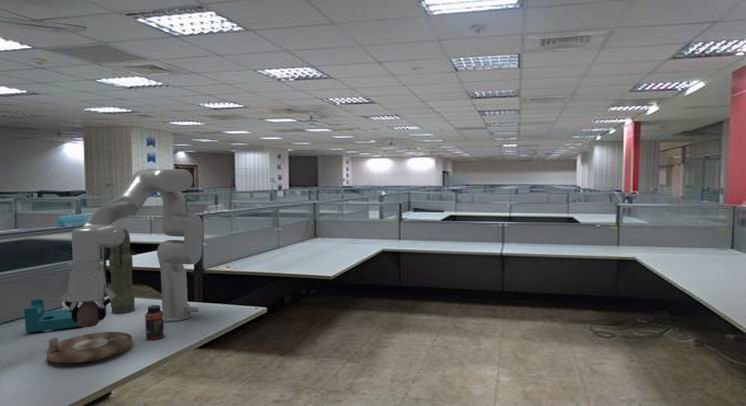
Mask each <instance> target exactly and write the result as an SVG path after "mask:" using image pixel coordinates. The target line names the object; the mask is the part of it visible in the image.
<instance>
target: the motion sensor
mask: <svg viewBox="0 0 746 406" xmlns="http://www.w3.org/2000/svg"><path fill="white" fill-rule="evenodd" d="M70 296H71V295H70ZM61 302H62V301H61ZM82 303H83V302H79V304H78V307H80V306H81V304H82ZM61 304H62V305H61V306H62V308H63V310H66V309H70V308H69V307H68V306H66V305H65V303H64V302H62V303H61Z"/></svg>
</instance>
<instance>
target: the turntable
mask: <svg viewBox="0 0 746 406" xmlns="http://www.w3.org/2000/svg"><path fill="white" fill-rule="evenodd" d="M132 344H133V336H132V335H131V334H129V333H126V332H121V331H101V332H93V333H89V334H82V335H78V336H73V337H69V338H67V339H64V340H61V341H59V338H58V337H52V338H49V339H48V348H47V349H46V353H45V354H46V359H47V360H48V361H50V362H52V363H58V364H76V363H77V364H78V363H85V362H92V361H96V360H100V359H101V360H102V359H104V358H109V357H111V356H114V355H117V354H119V353H122V352H123V351H125V350H127V349H129V348H130V347H131V346H132Z"/></svg>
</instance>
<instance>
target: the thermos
mask: <svg viewBox="0 0 746 406" xmlns="http://www.w3.org/2000/svg"><path fill="white" fill-rule="evenodd" d="M122 229H123V231H124V233H125V238H124V240H123V242H122V243H121V244H120V245H118V246H115V247H109V250H110V252H109V257H108V266H109V267H108V269H109V273H110V284H111V291H112V292H113V293H115V294H116V296H115V297H114V298H113V299H112V300H111V302H110V308H111V314H113V315H124V314H129V313H132V312H134V311H135V295H134V292H133V269H134V266H133V265H134V264H133V256H132V253H131V238H130V237H131V235H130V233H129V232H128V230H127V229H125V228H122Z"/></svg>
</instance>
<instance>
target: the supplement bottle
mask: <svg viewBox="0 0 746 406" xmlns="http://www.w3.org/2000/svg"><path fill="white" fill-rule="evenodd" d="M144 317H145V318H144V320H145V335H146V336H145V337H146V339H147V340H149V341H154V340H160V339H162V338H164V337H165V321H164V315H163V312H162V309H161V305H160V304H151V305H150V306H148V307H147V312H146V314H145V315H144Z"/></svg>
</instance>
